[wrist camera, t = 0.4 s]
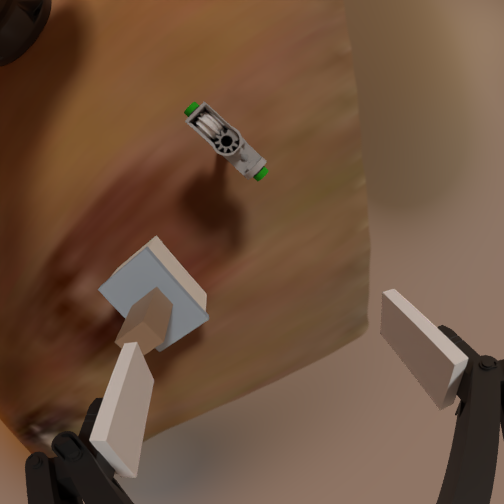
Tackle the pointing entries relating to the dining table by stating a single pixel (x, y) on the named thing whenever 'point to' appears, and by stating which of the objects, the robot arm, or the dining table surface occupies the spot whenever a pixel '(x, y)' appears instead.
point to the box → (174, 270)
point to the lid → (151, 304)
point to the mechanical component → (226, 140)
